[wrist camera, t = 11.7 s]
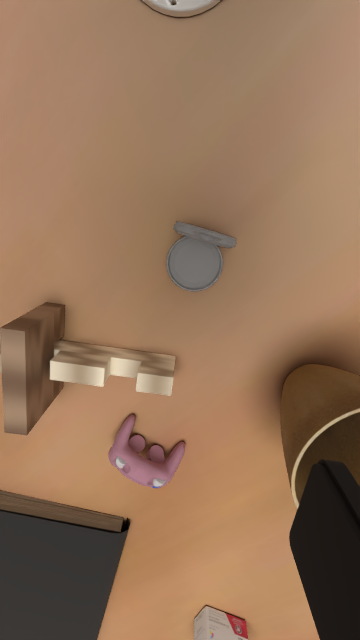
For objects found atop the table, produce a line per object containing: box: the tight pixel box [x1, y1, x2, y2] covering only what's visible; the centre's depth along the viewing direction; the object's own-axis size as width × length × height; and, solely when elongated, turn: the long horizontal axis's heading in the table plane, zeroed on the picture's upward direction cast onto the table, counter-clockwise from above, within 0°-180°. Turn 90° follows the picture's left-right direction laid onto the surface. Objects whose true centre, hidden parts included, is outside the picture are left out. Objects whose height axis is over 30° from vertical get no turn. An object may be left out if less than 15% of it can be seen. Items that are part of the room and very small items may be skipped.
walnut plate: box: [0, 302, 65, 435], centre depth 36 cm, size 12×2×10 cm, turn 172°
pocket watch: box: [167, 221, 236, 291], centre depth 32 cm, size 8×8×10 cm
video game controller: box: [108, 415, 185, 488], centre depth 42 cm, size 10×5×7 cm, turn 58°
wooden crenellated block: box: [0, 340, 175, 396], centre depth 38 cm, size 22×2×6 cm, turn 82°
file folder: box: [0, 491, 130, 640], centre depth 52 cm, size 33×4×24 cm
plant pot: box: [281, 364, 360, 508], centre depth 34 cm, size 15×15×16 cm
